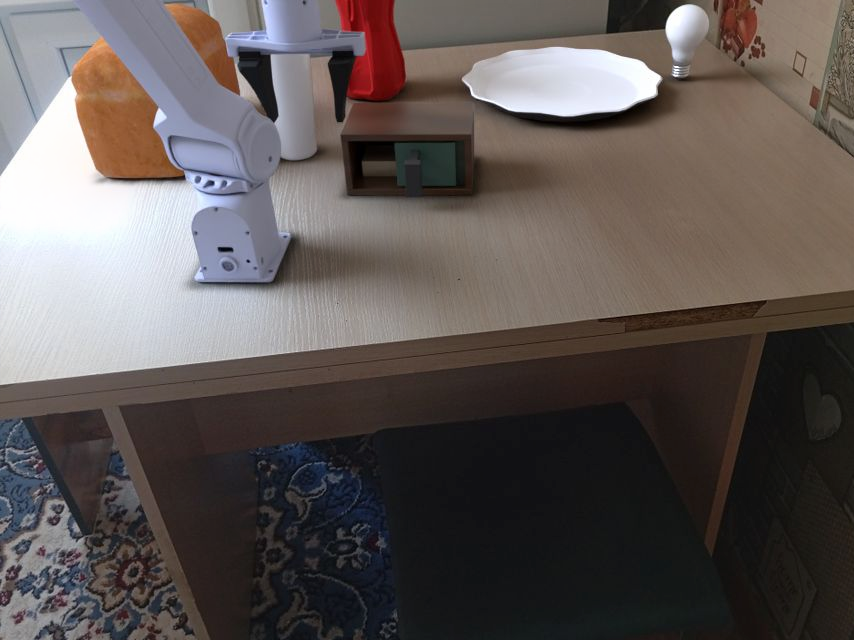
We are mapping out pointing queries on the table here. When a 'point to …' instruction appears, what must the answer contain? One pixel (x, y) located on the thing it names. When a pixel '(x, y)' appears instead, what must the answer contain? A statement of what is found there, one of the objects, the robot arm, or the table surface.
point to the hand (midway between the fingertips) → (307, 119)
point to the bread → (138, 101)
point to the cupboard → (388, 122)
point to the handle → (425, 165)
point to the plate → (562, 83)
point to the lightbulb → (685, 36)
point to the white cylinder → (294, 105)
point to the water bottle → (374, 49)
